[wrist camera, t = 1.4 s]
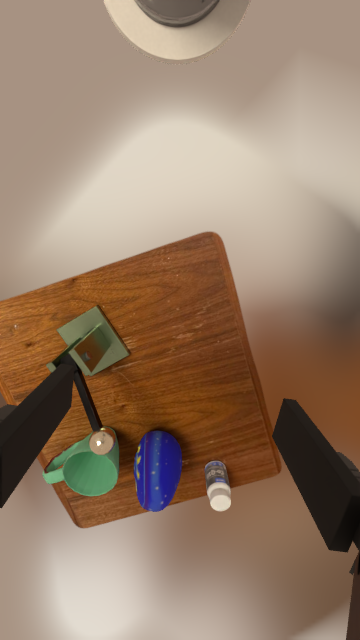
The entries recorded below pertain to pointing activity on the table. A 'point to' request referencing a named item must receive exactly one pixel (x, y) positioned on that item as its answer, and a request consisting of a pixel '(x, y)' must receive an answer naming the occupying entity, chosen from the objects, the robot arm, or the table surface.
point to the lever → (91, 413)
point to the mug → (85, 468)
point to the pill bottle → (217, 485)
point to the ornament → (157, 469)
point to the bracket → (90, 342)
